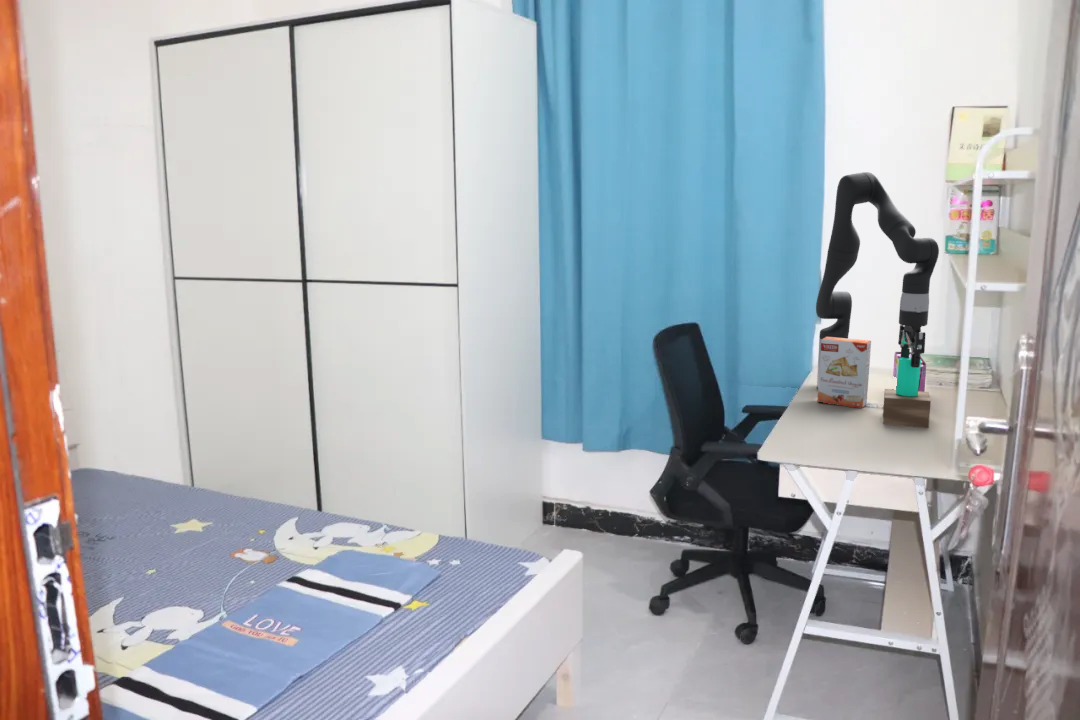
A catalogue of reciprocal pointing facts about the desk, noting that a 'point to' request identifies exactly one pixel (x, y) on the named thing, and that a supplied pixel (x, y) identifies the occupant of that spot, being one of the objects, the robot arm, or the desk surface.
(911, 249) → the robot arm
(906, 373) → the candle
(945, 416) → the desk surface
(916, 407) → the walnut block
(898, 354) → the gum box
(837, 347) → the cracker box
